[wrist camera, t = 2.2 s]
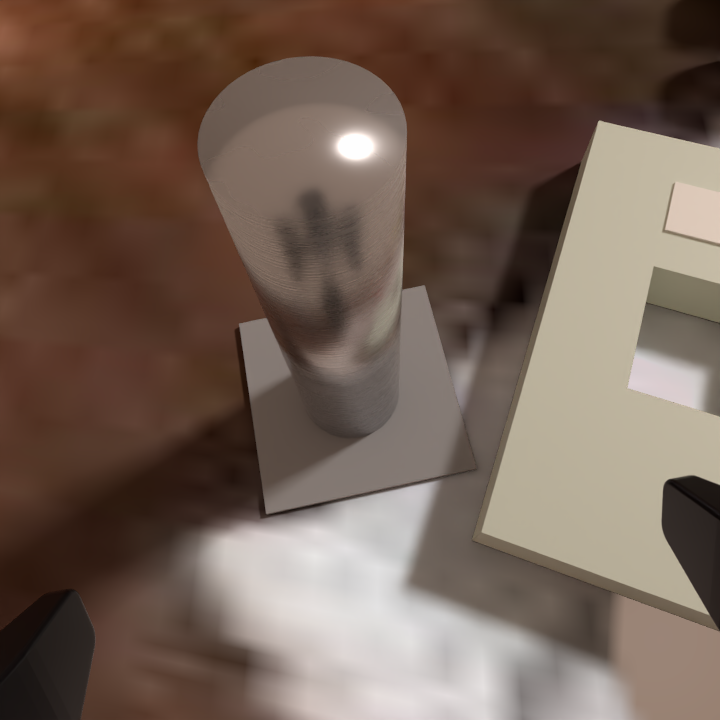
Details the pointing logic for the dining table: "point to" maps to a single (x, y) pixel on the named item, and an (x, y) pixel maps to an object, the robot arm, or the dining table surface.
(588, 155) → the hole board
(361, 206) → the steel pin
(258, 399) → the pad
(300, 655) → the dining table surface
